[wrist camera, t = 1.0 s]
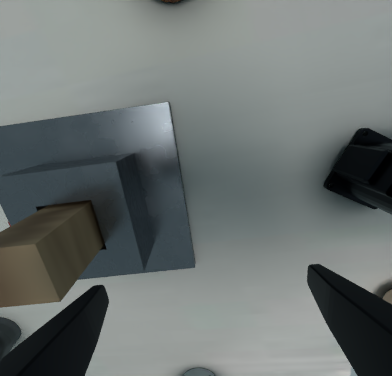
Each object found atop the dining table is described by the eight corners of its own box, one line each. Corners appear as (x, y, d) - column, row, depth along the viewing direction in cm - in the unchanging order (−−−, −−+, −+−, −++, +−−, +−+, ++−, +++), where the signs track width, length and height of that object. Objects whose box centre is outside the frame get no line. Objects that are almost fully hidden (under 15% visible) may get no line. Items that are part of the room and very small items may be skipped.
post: (112, 185, 20) (35, 243, 11) (122, 222, 21) (61, 302, 12) (72, 190, 20) (-37, 251, 11) (85, 226, 22) (-4, 308, 12)
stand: (169, 102, 19) (158, 95, 13) (195, 262, 24) (194, 301, 19) (-13, 129, 20) (-90, 131, 14) (52, 277, 25) (14, 318, 20)
